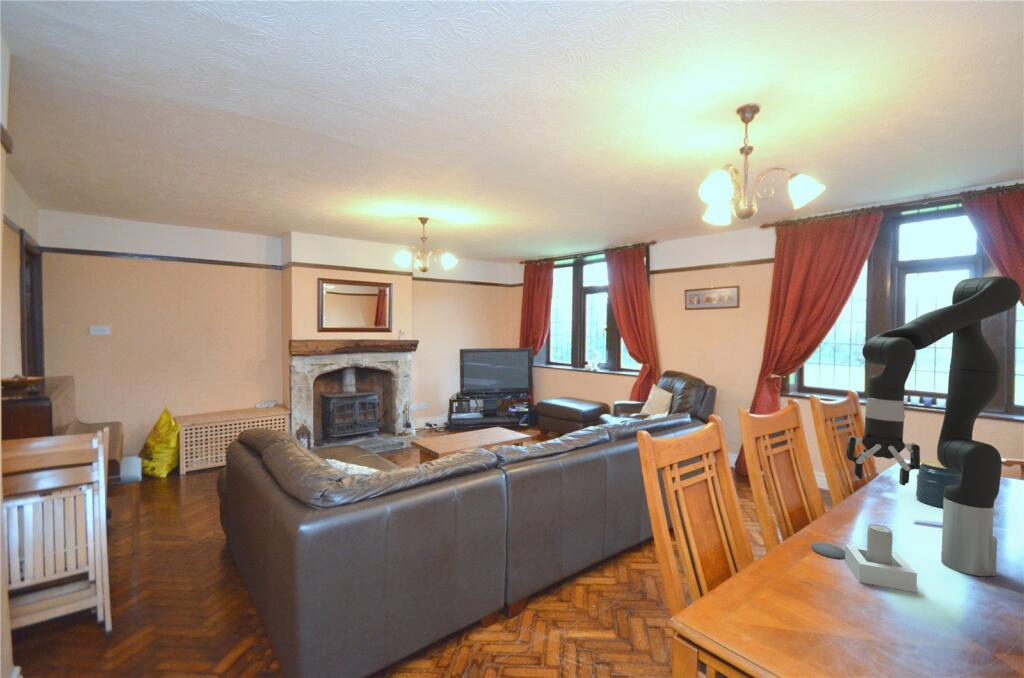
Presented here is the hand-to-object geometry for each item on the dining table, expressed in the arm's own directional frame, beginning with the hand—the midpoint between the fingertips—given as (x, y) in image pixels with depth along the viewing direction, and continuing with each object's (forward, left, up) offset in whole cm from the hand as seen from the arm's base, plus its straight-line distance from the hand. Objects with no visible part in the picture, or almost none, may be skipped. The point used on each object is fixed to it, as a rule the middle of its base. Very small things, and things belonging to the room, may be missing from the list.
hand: (880, 481), depth 114 cm
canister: (-40, -68, -24) cm, 82 cm away
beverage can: (0, +1, -24) cm, 24 cm away
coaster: (+8, -9, -23) cm, 26 cm away
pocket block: (0, +1, -23) cm, 23 cm away
